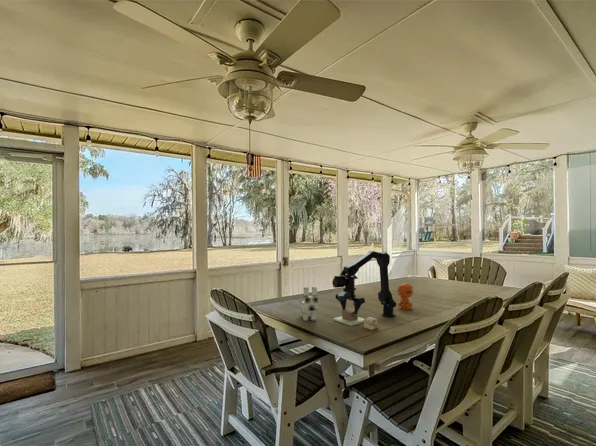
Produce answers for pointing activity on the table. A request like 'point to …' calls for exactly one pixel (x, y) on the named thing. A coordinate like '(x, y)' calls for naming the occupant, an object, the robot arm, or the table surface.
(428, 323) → the table surface
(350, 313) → the walnut block
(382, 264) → the robot arm
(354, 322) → the plate
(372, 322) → the maple block
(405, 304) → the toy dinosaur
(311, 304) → the toy rabbit
